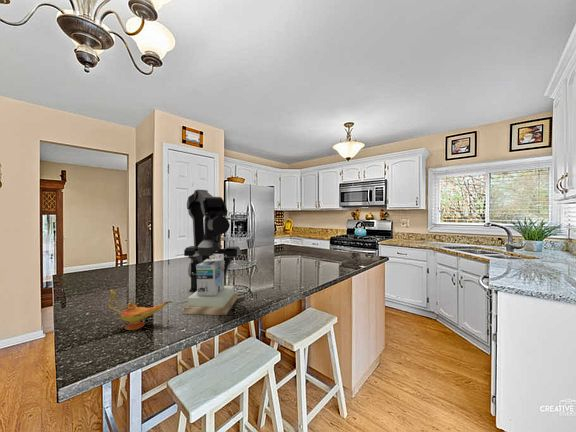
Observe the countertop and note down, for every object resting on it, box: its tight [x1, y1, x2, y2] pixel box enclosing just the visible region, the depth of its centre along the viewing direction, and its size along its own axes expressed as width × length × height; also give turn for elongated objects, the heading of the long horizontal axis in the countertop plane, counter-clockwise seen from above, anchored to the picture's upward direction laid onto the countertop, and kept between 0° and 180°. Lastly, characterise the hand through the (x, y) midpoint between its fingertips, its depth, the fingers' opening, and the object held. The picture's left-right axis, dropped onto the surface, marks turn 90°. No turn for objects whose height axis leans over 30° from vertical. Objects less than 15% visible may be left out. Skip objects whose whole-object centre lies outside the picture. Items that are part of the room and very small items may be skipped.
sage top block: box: [187, 285, 236, 307], centre depth 93 cm, size 12×14×3 cm
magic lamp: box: [107, 289, 173, 331], centre depth 76 cm, size 7×18×11 cm, turn 99°
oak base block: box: [183, 292, 239, 316], centre depth 93 cm, size 14×16×3 cm
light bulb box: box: [196, 258, 225, 296], centre depth 92 cm, size 11×7×11 cm, turn 178°
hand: (212, 275), depth 93 cm, fingers open, 9 cm apart
